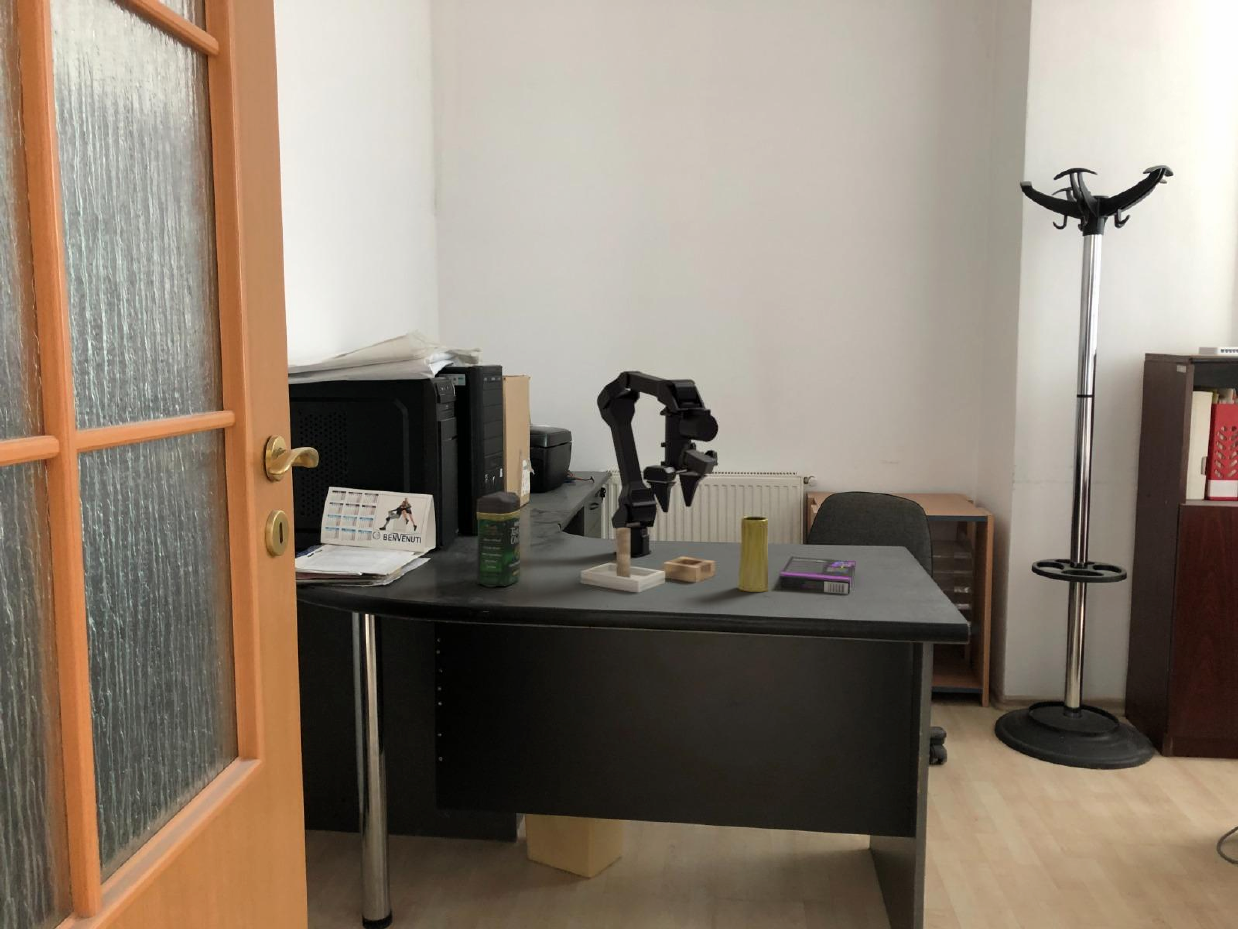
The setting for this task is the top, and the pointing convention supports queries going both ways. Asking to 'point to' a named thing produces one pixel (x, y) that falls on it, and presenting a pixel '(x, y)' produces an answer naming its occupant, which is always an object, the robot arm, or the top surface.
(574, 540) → the top surface
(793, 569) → the box
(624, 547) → the dowel
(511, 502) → the coffee jar
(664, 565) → the holder
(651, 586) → the tray
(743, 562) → the vase
